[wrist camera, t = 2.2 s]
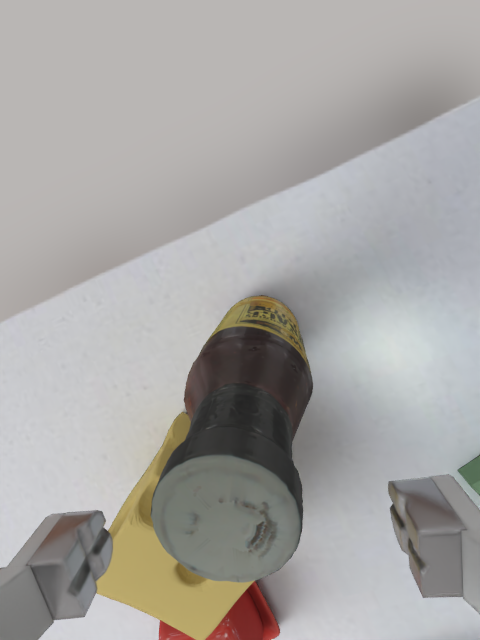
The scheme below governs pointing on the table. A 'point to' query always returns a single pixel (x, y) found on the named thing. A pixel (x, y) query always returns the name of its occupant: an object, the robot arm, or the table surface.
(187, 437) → the sauce bottle
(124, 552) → the cheese
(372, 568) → the table surface
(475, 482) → the towel
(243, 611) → the butter dish
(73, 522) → the robot arm
